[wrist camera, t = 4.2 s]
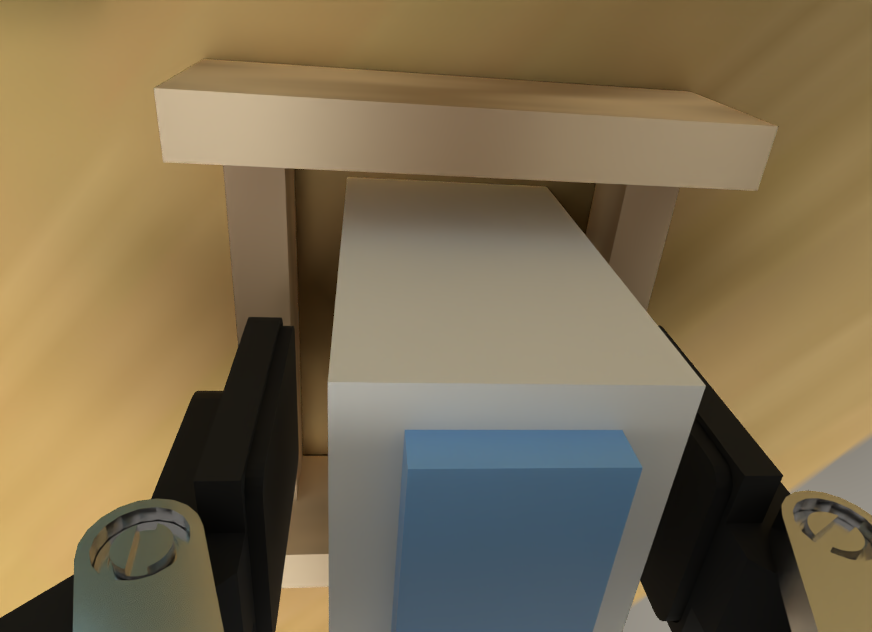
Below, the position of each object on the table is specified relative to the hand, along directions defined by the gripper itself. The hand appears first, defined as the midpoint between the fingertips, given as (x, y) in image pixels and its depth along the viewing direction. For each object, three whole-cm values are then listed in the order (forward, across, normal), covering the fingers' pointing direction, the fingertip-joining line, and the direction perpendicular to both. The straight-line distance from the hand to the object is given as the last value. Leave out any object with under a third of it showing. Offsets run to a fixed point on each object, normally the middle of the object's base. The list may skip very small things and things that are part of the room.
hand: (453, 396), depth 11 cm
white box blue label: (+3, 0, 0) cm, 3 cm away
